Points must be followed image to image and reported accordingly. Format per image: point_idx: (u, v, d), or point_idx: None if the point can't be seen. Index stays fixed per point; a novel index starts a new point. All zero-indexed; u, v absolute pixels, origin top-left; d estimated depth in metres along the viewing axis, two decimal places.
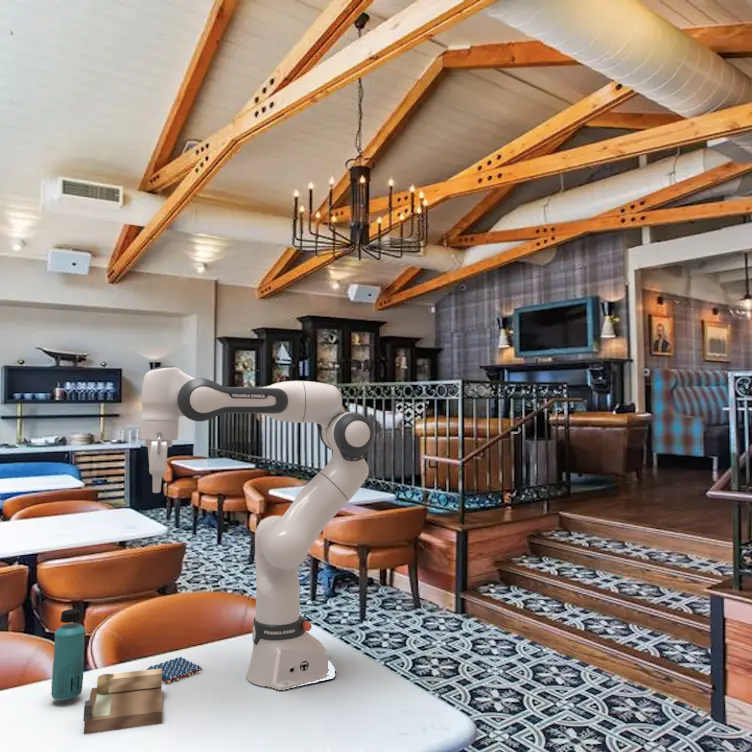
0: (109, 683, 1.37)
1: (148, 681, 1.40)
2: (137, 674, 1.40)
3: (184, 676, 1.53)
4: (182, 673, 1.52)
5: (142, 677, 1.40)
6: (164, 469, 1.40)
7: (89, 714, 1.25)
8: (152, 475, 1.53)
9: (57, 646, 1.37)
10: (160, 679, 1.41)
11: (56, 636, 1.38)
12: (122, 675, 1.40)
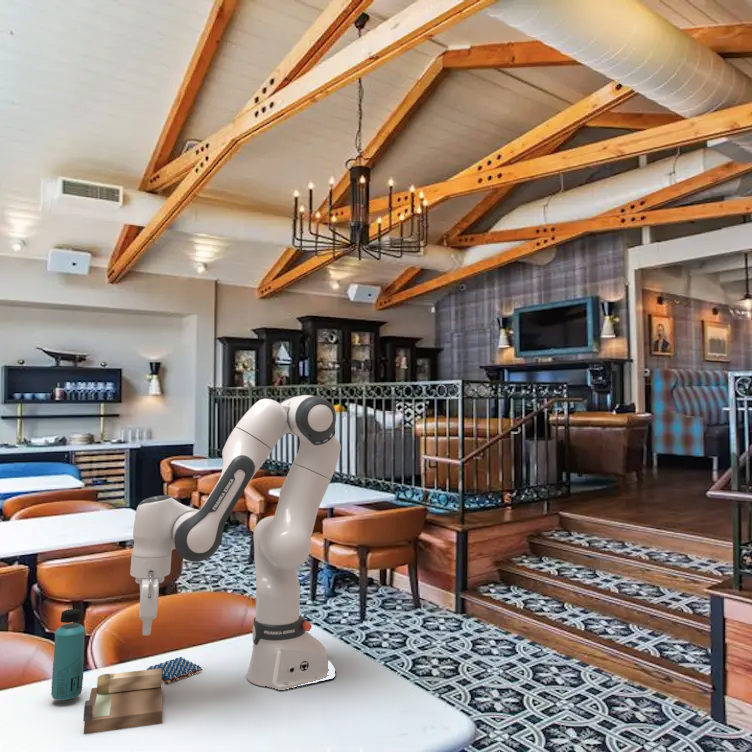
0: (109, 683, 1.37)
1: (148, 681, 1.40)
2: (137, 674, 1.40)
3: (184, 676, 1.53)
4: (182, 673, 1.52)
5: (142, 677, 1.40)
6: (155, 614, 1.34)
7: (89, 714, 1.25)
8: None
9: (57, 646, 1.37)
10: (160, 679, 1.41)
11: (56, 636, 1.38)
12: (122, 675, 1.40)
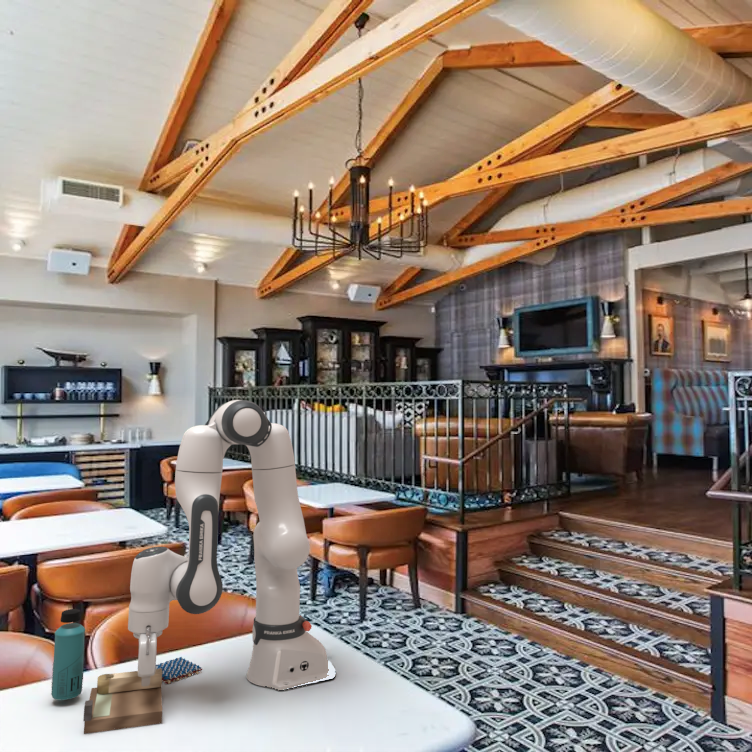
0: (109, 683, 1.37)
1: None
2: (137, 674, 1.40)
3: (184, 676, 1.53)
4: (182, 673, 1.52)
5: None
6: (153, 671, 1.33)
7: (89, 714, 1.25)
8: None
9: (57, 646, 1.37)
10: (160, 679, 1.41)
11: (56, 636, 1.38)
12: (122, 675, 1.40)
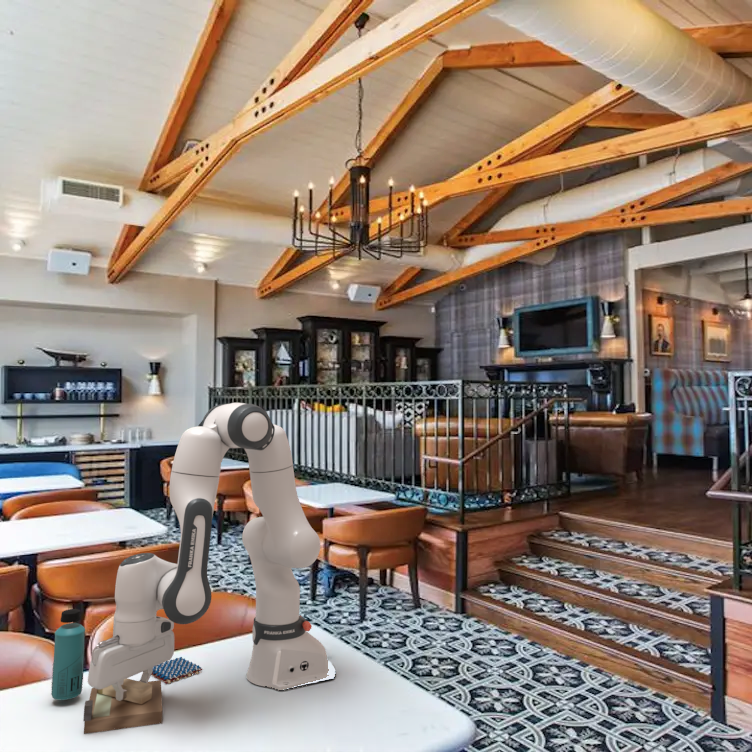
0: None
1: (132, 694, 1.34)
2: (126, 683, 1.35)
3: (184, 676, 1.53)
4: (182, 673, 1.52)
5: (127, 688, 1.34)
6: (97, 685, 1.26)
7: (89, 714, 1.25)
8: None
9: (57, 646, 1.37)
10: (140, 696, 1.33)
11: (56, 636, 1.38)
12: None
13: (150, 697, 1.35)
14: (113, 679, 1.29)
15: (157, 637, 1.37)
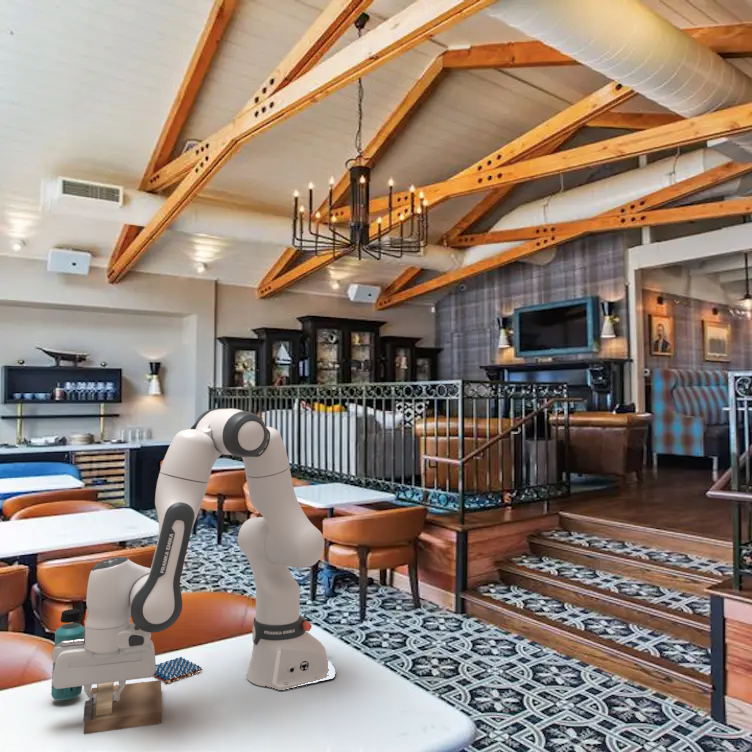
0: None
1: None
2: (102, 689, 1.32)
3: (184, 676, 1.53)
4: (182, 673, 1.52)
5: (97, 694, 1.31)
6: (52, 683, 1.26)
7: (89, 714, 1.25)
8: None
9: None
10: (96, 707, 1.27)
11: (56, 636, 1.38)
12: (104, 683, 1.35)
13: (109, 712, 1.28)
14: (71, 681, 1.27)
15: (126, 650, 1.30)
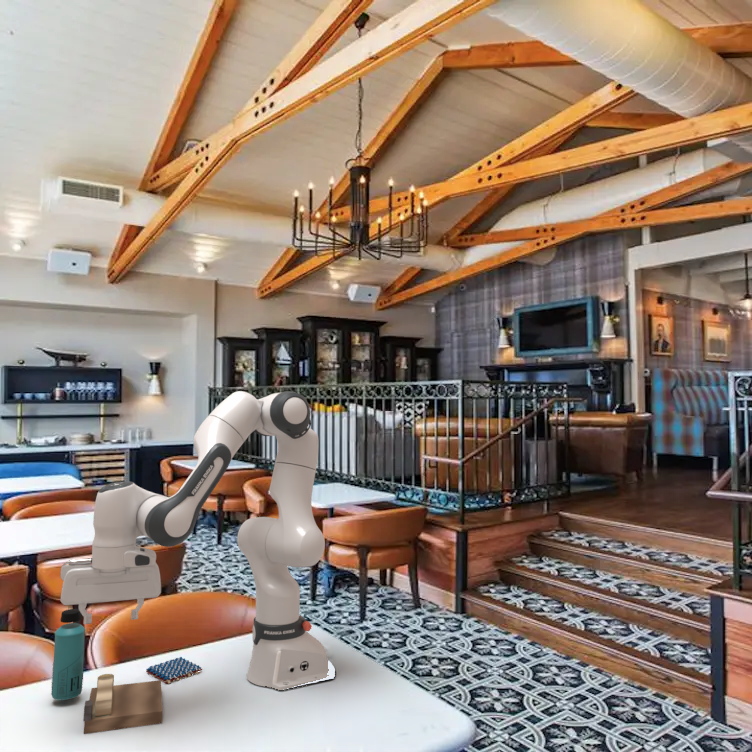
0: (98, 683, 1.37)
1: None
2: (102, 689, 1.32)
3: (184, 676, 1.53)
4: (182, 673, 1.52)
5: None
6: None
7: (89, 714, 1.25)
8: None
9: (57, 646, 1.37)
10: None
11: (56, 636, 1.38)
12: (104, 683, 1.35)
13: (109, 712, 1.28)
14: (78, 598, 1.30)
15: (132, 569, 1.33)
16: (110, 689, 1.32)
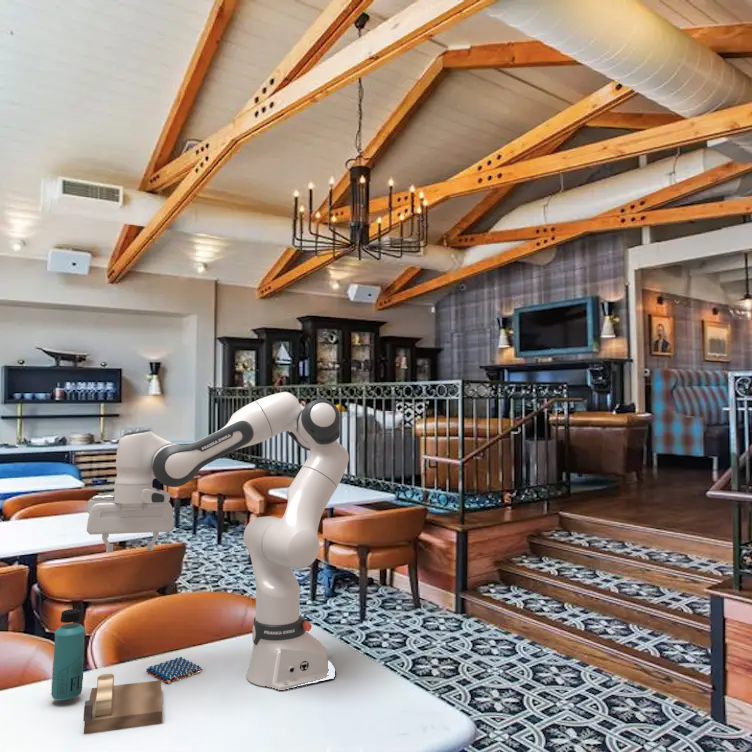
0: (98, 683, 1.37)
1: None
2: (102, 689, 1.32)
3: (184, 676, 1.53)
4: (182, 673, 1.52)
5: None
6: (87, 529, 1.48)
7: (89, 714, 1.25)
8: (154, 537, 1.56)
9: (57, 646, 1.37)
10: None
11: (56, 636, 1.38)
12: (104, 683, 1.35)
13: (109, 712, 1.28)
14: (102, 529, 1.49)
15: (149, 505, 1.52)
16: (110, 689, 1.32)
